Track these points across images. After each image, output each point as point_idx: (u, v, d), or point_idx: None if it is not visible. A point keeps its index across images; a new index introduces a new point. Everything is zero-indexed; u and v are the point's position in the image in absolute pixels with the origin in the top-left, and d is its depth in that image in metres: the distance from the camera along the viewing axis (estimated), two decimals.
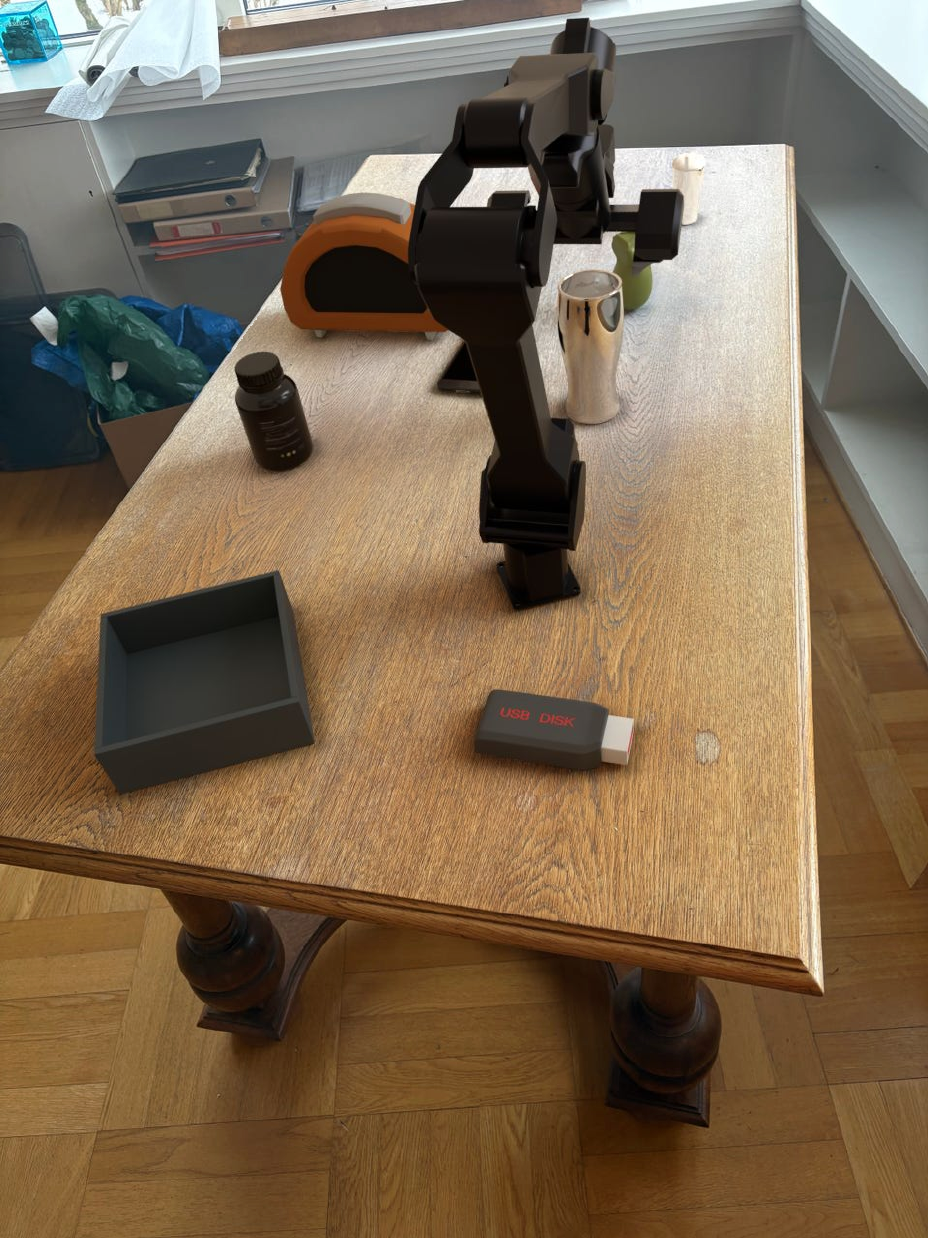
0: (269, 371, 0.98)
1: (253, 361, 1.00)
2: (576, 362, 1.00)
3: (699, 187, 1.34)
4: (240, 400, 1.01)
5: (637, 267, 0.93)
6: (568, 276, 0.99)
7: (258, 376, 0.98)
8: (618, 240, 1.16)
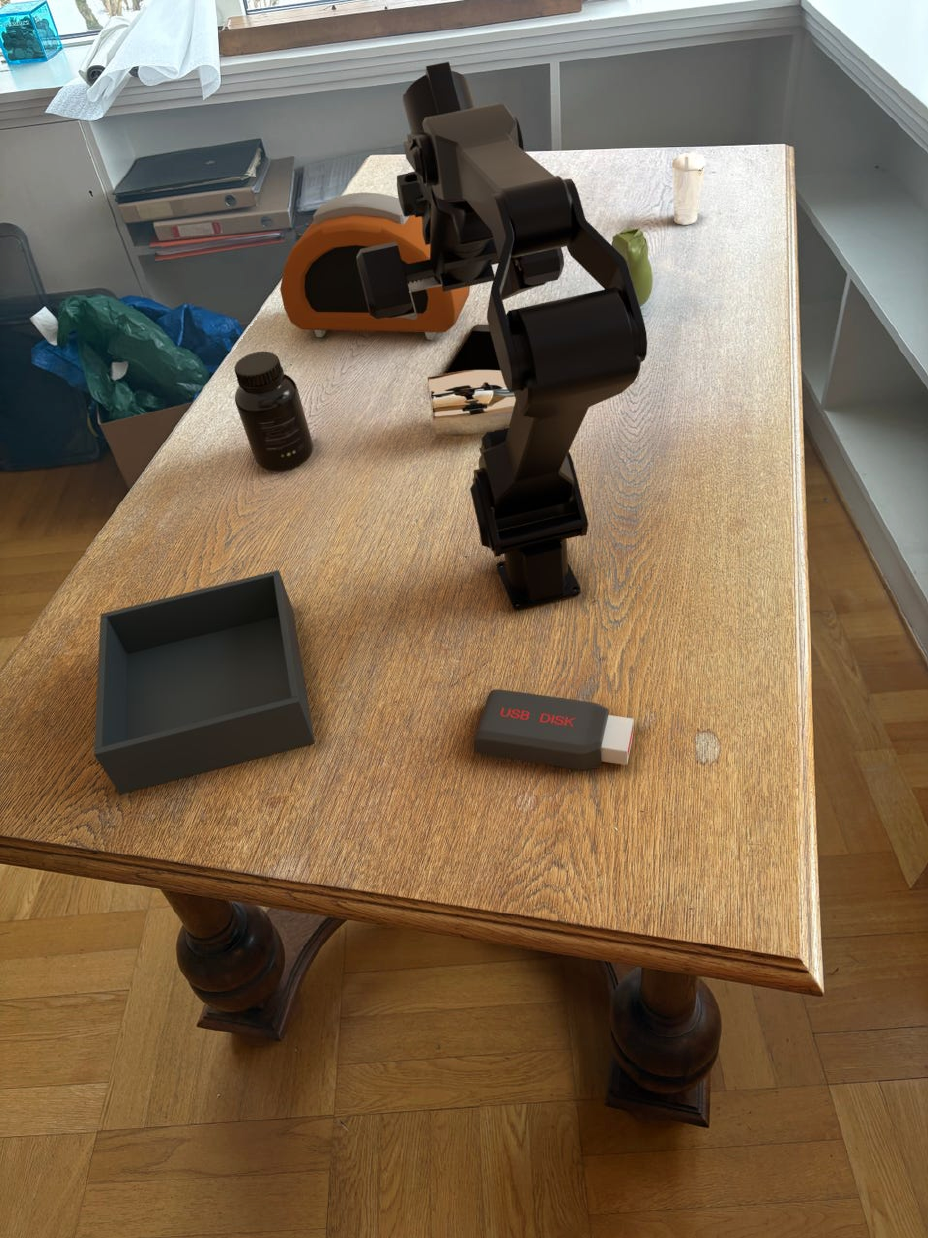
0: (269, 371, 0.98)
1: (253, 361, 1.00)
2: (500, 428, 1.05)
3: (699, 187, 1.34)
4: (240, 400, 1.01)
5: (517, 292, 0.93)
6: (431, 406, 1.08)
7: (258, 376, 0.98)
8: (618, 240, 1.16)
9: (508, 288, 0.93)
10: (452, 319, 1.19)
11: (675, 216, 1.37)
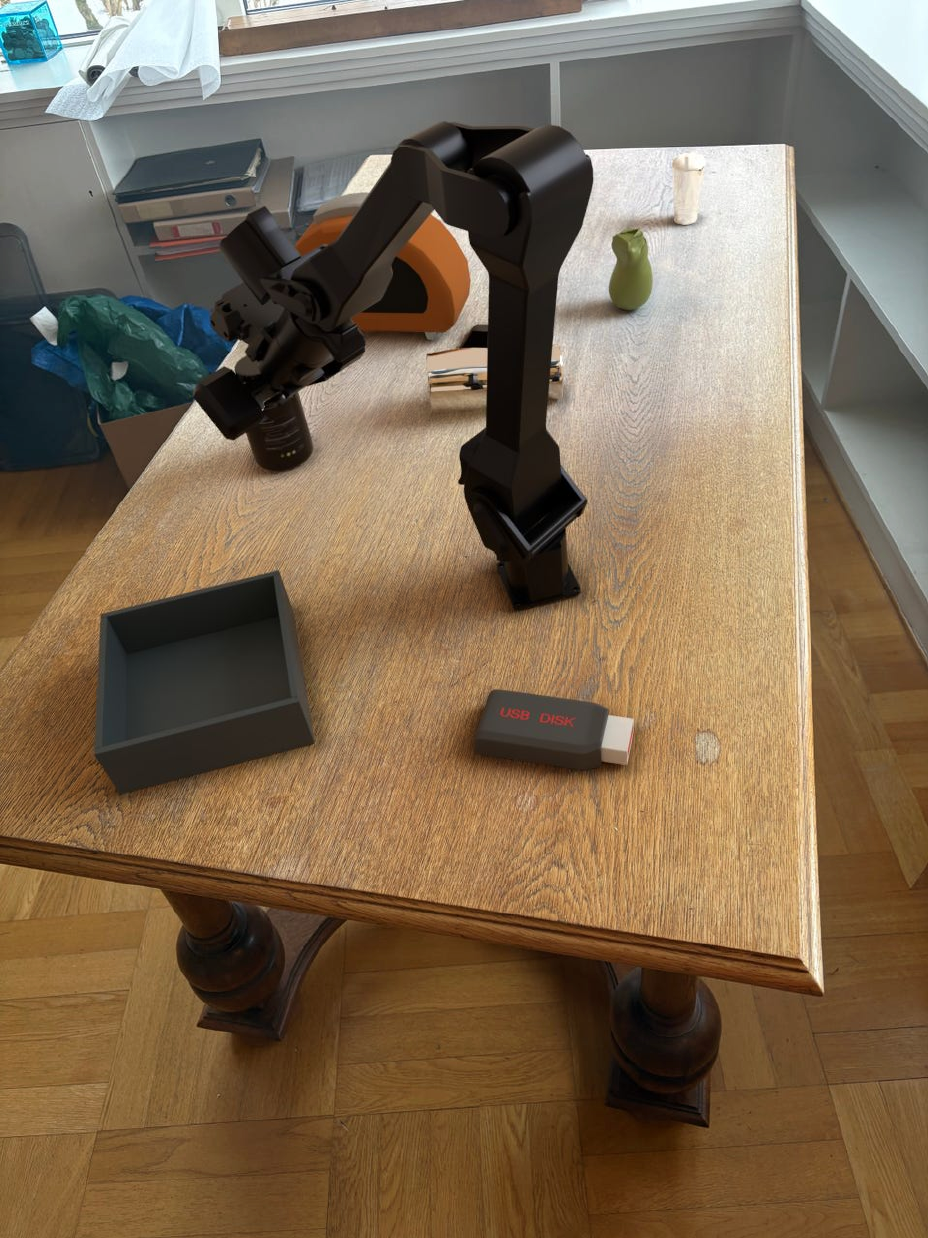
0: None
1: None
2: None
3: (699, 187, 1.34)
4: None
5: None
6: None
7: None
8: (618, 240, 1.16)
9: None
10: (452, 319, 1.19)
11: (675, 216, 1.37)
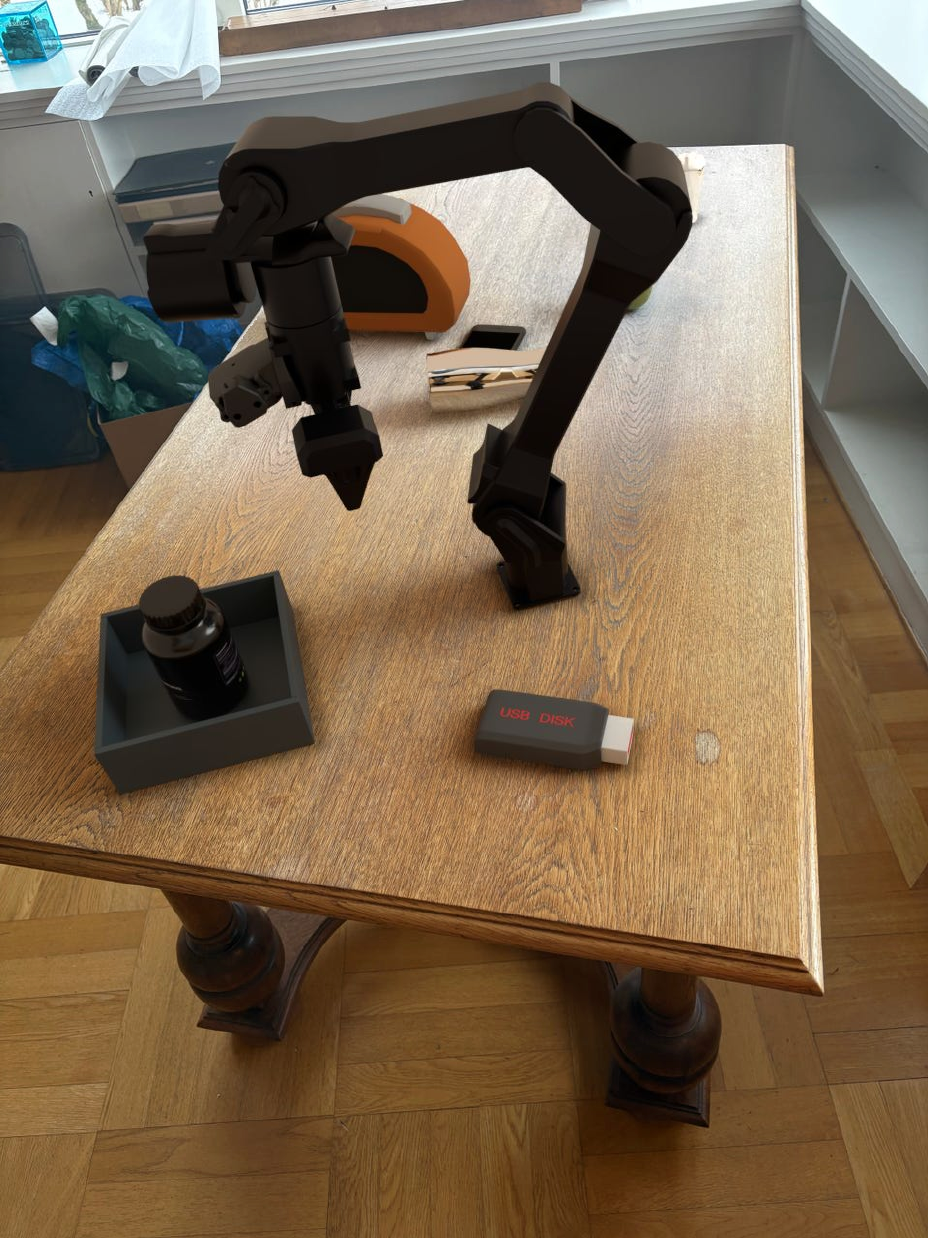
0: (197, 589, 0.75)
1: (161, 597, 0.74)
2: (493, 375, 1.05)
3: (699, 187, 1.34)
4: (181, 649, 0.75)
5: None
6: None
7: (196, 600, 0.74)
8: None
9: None
10: (452, 319, 1.19)
11: None
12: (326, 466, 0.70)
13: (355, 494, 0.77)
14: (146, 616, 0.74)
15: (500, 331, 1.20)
